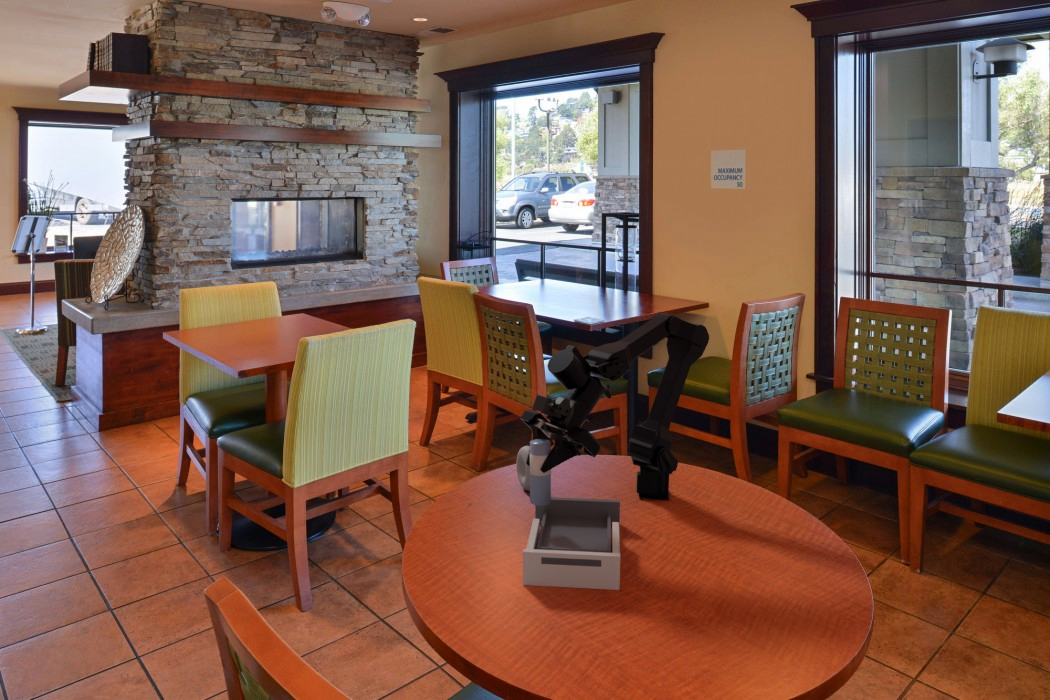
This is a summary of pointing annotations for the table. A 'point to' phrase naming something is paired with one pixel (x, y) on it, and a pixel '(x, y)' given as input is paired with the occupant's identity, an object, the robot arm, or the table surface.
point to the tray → (577, 524)
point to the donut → (523, 467)
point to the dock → (571, 565)
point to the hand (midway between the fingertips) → (534, 468)
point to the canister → (539, 473)
